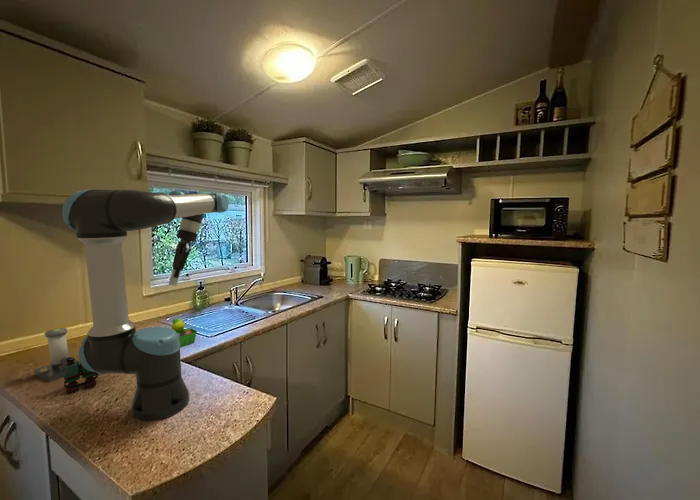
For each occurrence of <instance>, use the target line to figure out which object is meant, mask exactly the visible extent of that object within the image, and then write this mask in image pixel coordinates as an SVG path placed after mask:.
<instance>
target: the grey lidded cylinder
mask: <svg viewBox="0 0 700 500" xmlns="http://www.w3.org/2000/svg"><path fill="white" fill-rule="evenodd" d="M67 333H68V329H67V328H66V327H59V328H52V329H49V330H47V331H45V332H44V337H45V338H46V339H47V345H48V352H49V361H50V364H52V365H56V364H61V360H63V359H66V358H68V357H70V356H69V349H68V341H67V335H66V334H67Z"/></svg>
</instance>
